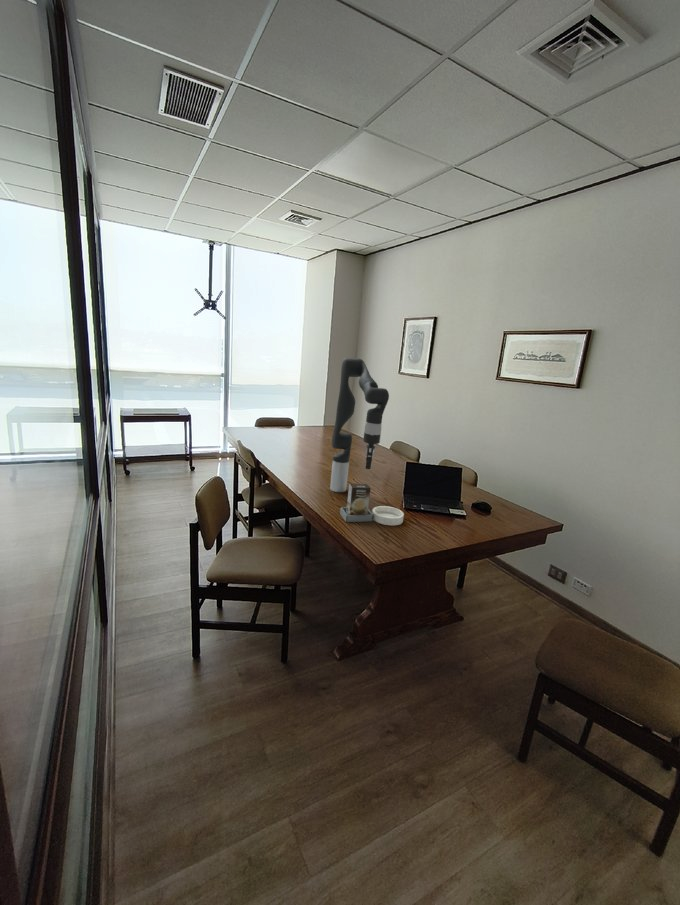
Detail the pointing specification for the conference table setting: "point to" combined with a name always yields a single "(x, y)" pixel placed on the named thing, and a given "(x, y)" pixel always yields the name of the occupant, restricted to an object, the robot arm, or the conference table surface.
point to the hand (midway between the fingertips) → (368, 466)
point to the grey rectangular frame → (356, 516)
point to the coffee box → (358, 499)
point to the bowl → (387, 515)
